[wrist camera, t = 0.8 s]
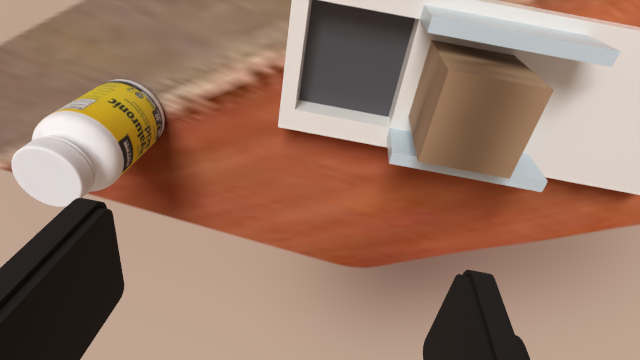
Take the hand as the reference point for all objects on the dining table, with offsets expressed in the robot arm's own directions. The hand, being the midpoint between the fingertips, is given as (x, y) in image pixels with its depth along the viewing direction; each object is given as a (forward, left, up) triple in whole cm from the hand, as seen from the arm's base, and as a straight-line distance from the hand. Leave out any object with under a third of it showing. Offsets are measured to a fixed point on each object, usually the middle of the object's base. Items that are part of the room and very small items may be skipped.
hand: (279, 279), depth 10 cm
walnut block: (-8, 0, -18) cm, 20 cm away
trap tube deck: (-10, 0, -20) cm, 22 cm away
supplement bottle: (+14, +7, -20) cm, 26 cm away
